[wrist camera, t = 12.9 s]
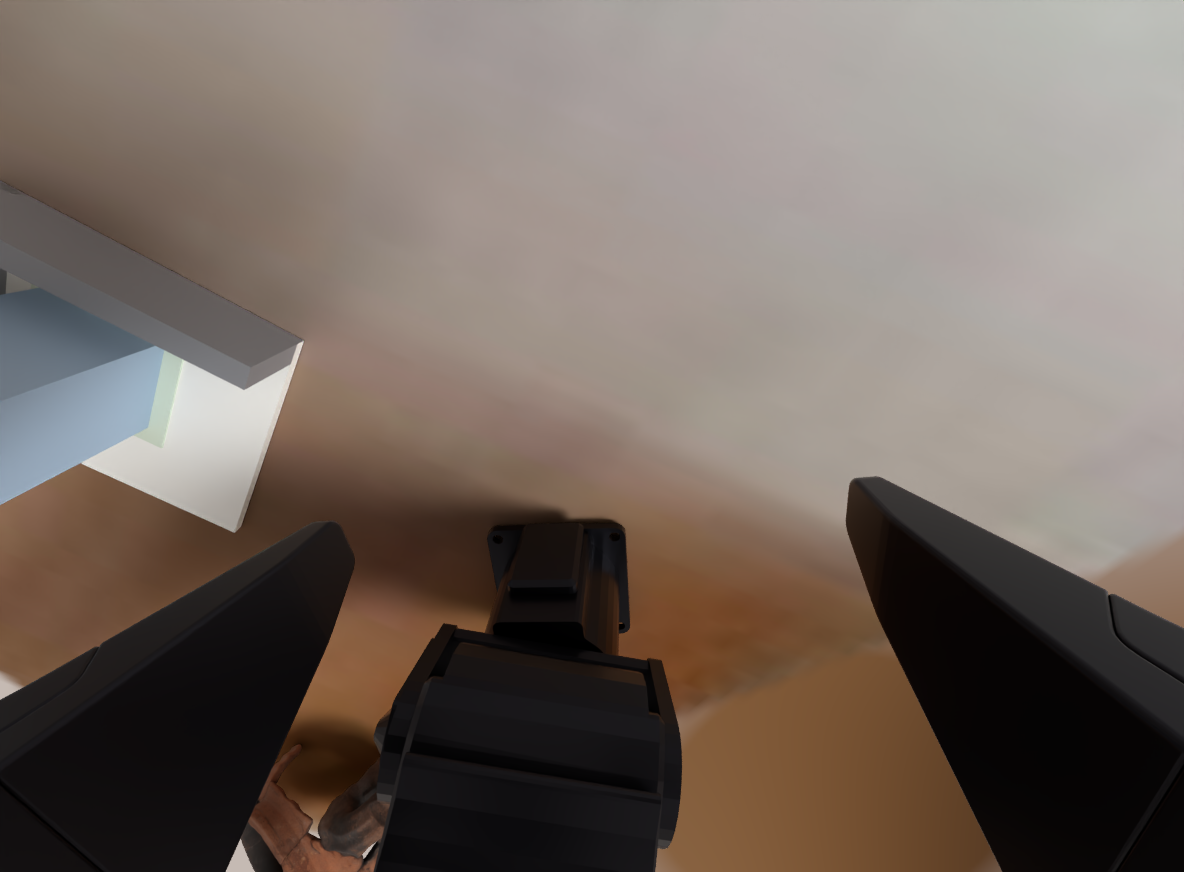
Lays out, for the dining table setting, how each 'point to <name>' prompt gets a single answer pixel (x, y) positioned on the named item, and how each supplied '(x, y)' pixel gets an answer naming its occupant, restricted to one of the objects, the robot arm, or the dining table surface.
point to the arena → (164, 359)
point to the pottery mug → (350, 825)
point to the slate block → (66, 387)
